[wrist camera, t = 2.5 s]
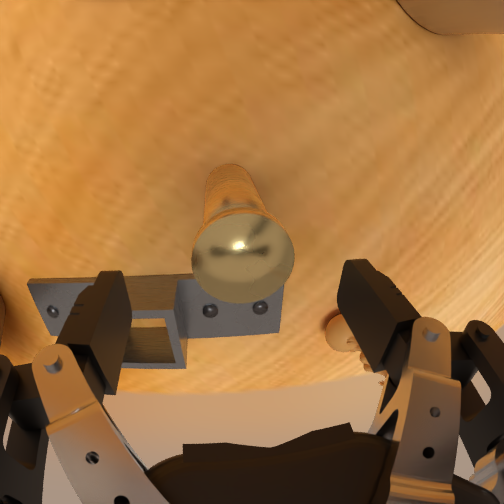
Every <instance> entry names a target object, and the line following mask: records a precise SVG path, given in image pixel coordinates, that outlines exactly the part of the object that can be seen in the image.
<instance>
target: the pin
mask: <svg viewBox="0 0 504 504" xmlns="http://www.w3.org/2000/svg"><path fill="white" fill-rule="evenodd" d="M293 265H294V248H293V245H292V242H291V240H290V238H289V236H288V234H287V232H286V230H285V228H284V227H283V225H282V224H281V223H280V222H279V221H278V220H277V219H276V218H275V217H274V216H272V215H271V214H269V213H267V211H266V209H265V207H264V205H263V203H262V201H261V198H260V196H259V194H258V192H257V190H256V188H255V186H254V184H253V181H252V179H251V177H250V175H249V174H248V172H247V171H246V170H245V169H244V168H242V167H240V166H238V165H235V164H225V165H221V166H219V167H217V168H216V169H214V170H213V171H212V172H211V173H210V175H209V177H208V179H207V183H206V194H205V208H204V223H203V226H202V227H201V228H200V230H199V231H198V233H197V235H196V237H195V240H194V244H193V250H192V270H193V274H194V276H195V278H196V280H197V282H198V284H199V285H200V286H201V287H202V288H203V289H204V291H206V292H207V293H208V294H209V295H211V296H213V297H214V298H217V299H219V300H222V301H225V302H229V303H237V304H239V303H251V302H255V301H259V300H262V299H264V298H266V297H268V296H270V295H272V294H273V293H275V292H276V291H277V290H278V289H279V288H280V287H282V285H283V284H284V283H285V282H286V281H287V279H288V277H289V276H290V274H291V272H292V268H293Z"/></svg>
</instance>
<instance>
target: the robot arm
mask: <svg viewBox="0 0 504 504" xmlns="http://www.w3.org/2000/svg"><path fill="white" fill-rule="evenodd" d="M397 1H398V2H399V3H400V5H401V6H402V7H403V9H404V10H405V11H406V12H407V13H408V14H409V15H410V16H411V18H413V19H414V20H415V21H416V22H417V23H418V24H420V25H421V26H423V27H424V28H426V29H427V30H429V31H432V32H434V33H436V34H441V35H448V34H504V0H397ZM337 304H338V308H339V310H340V312H341V314H342V316H343V317H344V319H345V321H346V323H347V324H348V326H349V328H350V330H351V332H352V333H353V335H354V337H355V339H356V341H357V343H358V344H359V346H360V348H361V350H362V352H363V354H364V356H365V357H366V359H367V361H368V363H369V365H370V367H371V369H372V371H373V372H374V373H376V372H380V371H384V370H386V371H387V373H388V375H387V377H386V379H385V381H384V385H383V389H382V393H381V397H380V400H379V404H378V407H377V411H376V414H375V418H374V420H373V423H372V425H371V427H370V429H369V431H368V433H363V432H353V430H352V427H351V425H350V423H346V424H341V425H337V426H333V427H329V428H324V429H320V430H315V431H311V432H309V433H307V434H305V435H302V436H300V437H298V438H295V439H293V440H291V441H288V442H286V443H283V444H281V445H278V446H275V447H271V448H266V447H256V446H247V445H238V444H231V443H212V444H211V443H209V444H183V454H181V455H176V456H174V457H171V458H168V459H165V460H163V461H161V462H159V463H157V464H156V465H155V466H152V467H151V468H150V469H148V468H147V467H146V465H145V464H144V463H143V462H142V460H141V459H140V458H139V457H138V455H137V454H136V453H135V451H134V450H133V449H132V448H131V446H130V445H129V443H128V442H127V440H126V439H125V438H124V436H123V435H122V433H121V432H120V430H119V429H118V427H117V426H116V424H115V423H114V421H113V419H112V418H111V416H110V415H109V413H108V412H107V410H106V408H105V407H104V405H103V403H102V402H103V398H104V394H107V395H116V391H117V386H118V380H119V375H120V370H121V366H122V361H123V356H124V352H125V347H126V343H127V339H128V335H129V331H130V327H131V322H132V308H131V303H130V300H129V296H128V292H127V288H126V284H125V280H124V276H123V273H122V271H120V270H118V271H101V272H100V273H99V275H98V277H97V279H96V281H95V283H94V285H88V286H87V287H86V288H85V289H84V290H83V291H82V292H81V293H80V294H79V295H78V297H77V299H76V301H75V303H74V306H73V307H72V309H71V311H70V315H68V317H67V319H66V321H65V323H64V325H63V328H62V330H61V332H60V334H59V336H58V339H57V341H56V343H55V344H52V345H49V346H46V347H45V348H43V349H42V350H40V351H39V352H38V353H37V354H36V356H35V357H34V360H33V362H32V363H29V364H24V365H18V366H13V365H12V363H11V362H10V360H9V359H8V357H6V356H5V355H1V354H0V504H42V492H43V480H44V470H45V462H46V454H47V447H48V441H49V439H50V441H51V444H52V446H53V448H54V451H55V453H56V455H57V457H58V459H59V461H60V463H61V465H62V467H63V469H64V471H65V473H66V475H67V477H68V479H69V481H70V483H71V485H72V486H73V488H74V490H75V492H76V493H77V495H78V497H79V498H80V500H81V502H82V504H504V343H503V342H502V340H501V339H500V338H499V336H498V335H497V334H496V333H495V331H494V330H493V329H492V328H491V327H490V326H489V325H488V324H486V323H484V322H482V321H479V320H472V321H470V322H469V323H468V324H467V326H466V328H465V329H464V331H463V332H449V330H448V329H447V327H446V326H445V325H444V324H443V323H441V322H440V321H438V320H436V319H433V318H430V317H421V316H420V314H419V313H418V312H417V311H416V309H415V308H414V307H413V306H412V305H411V303H410V302H409V301H408V300H407V298H406V297H405V296H404V295H402V292H401V291H400V290H399V289H398V288H396V285H395V284H394V283H393V282H392V281H391V280H390V278H389V277H387V276H385V275H384V274H382V273H381V272H379V271H376V269H375V268H374V267H373V266H372V265H371V264H370V262H369V261H368V260H367V259H353V260H346V261H345V263H344V266H343V271H342V275H341V280H340V284H339V289H338V293H337ZM478 370H479V372H480V373H481V375H482V376H483V378H484V380H485V381H486V383H487V384H488V386H489V387H490V390H491V399H490V401H489V403H488V404H487V405H485V403H484V402H483V400H482V398H481V397H480V395H479V393H478V392H477V390H476V388H475V387H474V385H473V383H472V382H471V379H472V378H473V377H474V375H475V373H477V371H478ZM8 416H9V417H10V418H11V419H12V424H11V429H10V433H9V437H8V441H7V446H6V451H5V449H4V446H3V435H4V432H5V428H6V424H7V420H8ZM459 435H460V437H461V439H462V441H463V444H464V446H465V448H466V450H467V453H468V454H469V457H470V459H471V461H472V464H473V466H474V474H473V475H472V476H470V478H469V481H468V480H465V479H463V478H461V477H459V476H457V475H455V474H453V472H454V467H455V460H456V453H457V445H458V436H459Z"/></svg>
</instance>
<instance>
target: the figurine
mask: <svg viewBox="0 0 504 504" xmlns="http://www.w3.org/2000/svg"><path fill="white" fill-rule="evenodd" d="M325 337H326V341H327V343H328V344H329V346H330V347H331V348H332V349H334V350H336V351H339V352H348V351H351V352H355V351H361V354H360V360H361V362H362V363H364V370H365V371H370V372H373V371H372V369H371V367H370V365H369V363H368V361H367V359H366V357H365V356H364V354H363V352H362V350H361V348H360V346H359V344H358V343H357V341H356V339H355V337H354V335H353V333H352V332H351V330H350V328H349V326H348V324H347V323H346V321H345V319H344V317H343V316H342V314H340V315H337V316H335V317H334V318H332V319H331V320H330V321H329V323H328V325H327V327H326V330H325ZM376 373H378V374H381V375H384V376H385V378H386V377H387V375H388V373H387V371H386V370H384V371H380V372H376ZM380 384H381V385H382V386H383V385H384V381H383V382H380Z"/></svg>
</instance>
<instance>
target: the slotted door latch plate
mask: <svg viewBox="0 0 504 504" xmlns="http://www.w3.org/2000/svg"><path fill="white" fill-rule="evenodd" d="M96 279H97V278H59V279H30V280H29V281H28V282H27V285H28V288H29V290H30V293H31V295H32V297H33V299H34V302H35V304H36V306H37V308H38V310H39V313H40V315H41V317H42V319H43V321H44V323H45V325H46V327H47V329H48V331H49V333H50V334H51V335H52V336H59V334H60V332H61V330H62V328H63V325H64V323H65V321H66V319H67V317H68V315H70V311H71V309H72V307H73V306H74V303H75V301H76V299H77V297H78V295H79V294H80V293H81V292H82V291H83V290H84V289H85V288H86V287H87V286H88V285H94V283H95V281H96ZM124 280H125V284H126V288H127V292H128V296H129V300H130V303H131V308H132V319H140V318H165V322H166V326H167V328H130V331H129V335H128V339H127V343H126V347H125V352H124V356H123V361H122V366H121V368H138V369H186V364H187V342H188V338H213V337H230V336H245V335H258V334H270V333H279V329H280V319H281V310H282V300H283V289H284V284H283V285H282V287H280V288H279V289H278V290H277V291H276V292H275V293H273V294H272V295H270V296H268V297H266V298H264V299H262V300H259V301H255V302H251V303H239V304H237V303H229V302H225V301H222V300H219V299H217V298H214V297H213V296H211V295H209V294H208V293H207V292H206V291H204V289H203V288H202V287H201V286H200V285H199V284H198V282H197V280H196V278H195V276H194V274H180V275H156V276H129V277H124Z"/></svg>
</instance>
